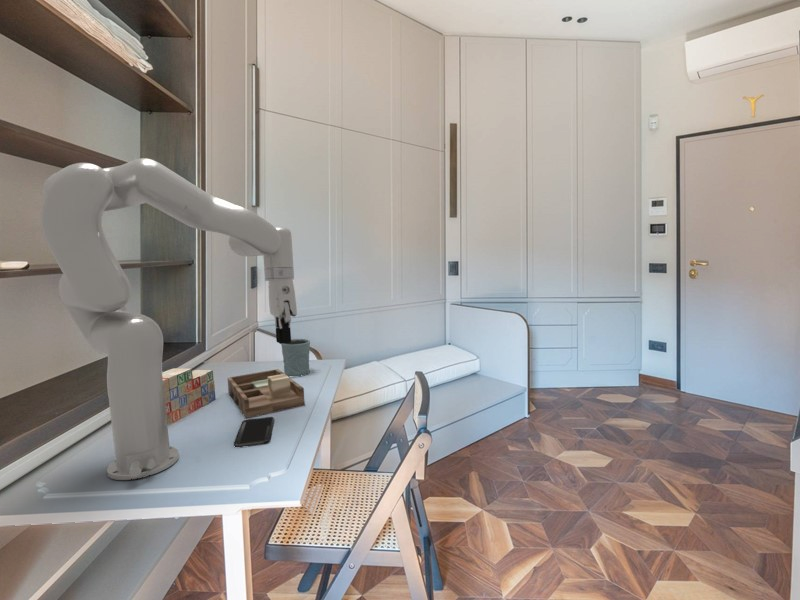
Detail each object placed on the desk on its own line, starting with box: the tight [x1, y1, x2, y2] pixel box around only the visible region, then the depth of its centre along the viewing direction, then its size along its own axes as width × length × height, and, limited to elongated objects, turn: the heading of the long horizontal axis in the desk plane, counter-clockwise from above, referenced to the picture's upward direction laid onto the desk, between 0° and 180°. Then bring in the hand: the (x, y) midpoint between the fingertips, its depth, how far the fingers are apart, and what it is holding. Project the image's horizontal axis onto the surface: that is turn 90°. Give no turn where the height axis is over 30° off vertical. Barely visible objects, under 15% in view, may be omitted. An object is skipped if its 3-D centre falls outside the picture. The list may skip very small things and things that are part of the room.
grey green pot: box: [280, 338, 311, 377], centre depth 151 cm, size 10×10×12 cm
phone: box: [233, 416, 275, 448], centre depth 100 cm, size 8×1×15 cm
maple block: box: [268, 373, 291, 398], centre depth 121 cm, size 5×5×5 cm
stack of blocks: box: [162, 368, 216, 426], centre depth 116 cm, size 21×6×12 cm, turn 169°
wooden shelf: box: [227, 368, 306, 419], centre depth 125 cm, size 26×16×5 cm, turn 32°
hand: (283, 342), depth 113 cm, fingers closed
